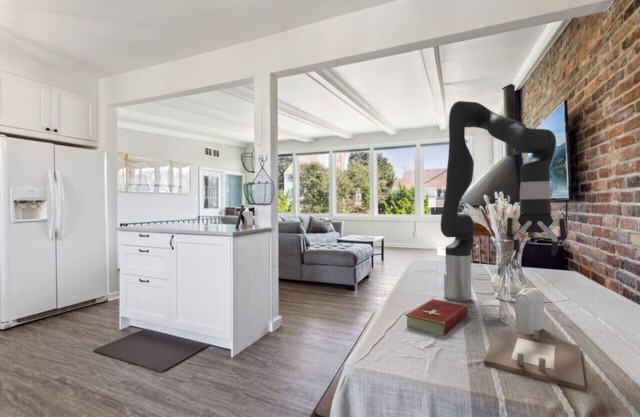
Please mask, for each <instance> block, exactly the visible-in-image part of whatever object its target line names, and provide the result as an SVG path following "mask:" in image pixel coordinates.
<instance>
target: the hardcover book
mask: <svg viewBox="0 0 640 417" xmlns="http://www.w3.org/2000/svg"><path fill="white" fill-rule="evenodd" d="M404 315H405V317H406V326H407V325H408V326H407V327H410V326H411V327H410V328H414V327H415V328H414V329H418V328H419V329H418V330H421V329H422V330H423V331H425V330H426V331H425V332H430V333H433V334H437V335H442V336H443V337H445V336H446V335H447V334H448V333H449V332H450V331H451V330H453V329H454V328H456V326H457V325H459V324H460V323H461V322H462V321H464V319H466V318H467V316H468V315H469V308H468V305H467V304H462V303H458V302H457V303H456V302H451V301H447V300H441V299H437V298H431V299H429V300H428V301H426V302H424V303H423V304H421V305H419V306H417V307H416V308H414V309H413V310H411V311H409V312H407V313H406V314H404Z"/></svg>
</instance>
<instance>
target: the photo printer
mask: <svg viewBox="0 0 640 417" xmlns="http://www.w3.org/2000/svg"><path fill="white" fill-rule="evenodd" d="M544 300H545V299H544V294H543V292H542V290H540V289H538V288H534V287H526V288H523V289H522V290H521V291H519V292H518V293H517V294H516V296H515V331H516V333H519V334H524V335H529V336H533V330H539V332H540V331H542V330H543V329H544V326H545V314H544V313H545V308H544V307H545V302H544Z"/></svg>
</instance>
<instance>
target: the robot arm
mask: <svg viewBox="0 0 640 417" xmlns="http://www.w3.org/2000/svg"><path fill="white" fill-rule="evenodd" d="M448 116H449V117H448V134H449V135H448V136H449V137H448V143H449V144H448V156H447V166H446V178H445V179H446V183H445V192H444V200H443V207H442V212H441V216H440V231H441V234H442V235H443V236H445V238H454V240H453V241H452V243H450V244H449V245H447V246H445V250H444V252H445V273H444V274H443V282H444V283H443V284H444V285H443V287H444V288H443V289H444V291H443V295H444V296H443V298H446V299H448V300H452V301H455V302H456V301H457V302H458V301H459V302H468V301H471V300H472V250H473V247H474V234H475V233H474V232H475V231H474V230H475V228H474V221H473V218H472V217H471V215H469V214H468V213H463V212H462V213H459V206H460V202H461V200H462V198H463V197H464V195H465V193H466V192H467V191H468V189H469V187H470V186H471V184H472V182H473V178H474V168H475V167H474V166H475V165H474V159H473V155H472V154H471V152H470V150H469V148H468V146H467V143H466V136H465V131H466V128H478V129H484V130H486V131H487V133H488V134H489V135H490V136H491V137H493V138H495V139H497V140H499V141H500V142H501V141H502V142H503V143H506V144H507V145H508V146H509V147H510V148H512V149H513V150H514V151H517V152H519V153H523V154H531V157H530V161H527V162H524V163H522V165H521V166H520V187H519V217H511V216H510V217H508V218H507V219H506V220H507V222H506V223H507V224H506V237H507V238H510V239H512V240H513V250H514V251H515V252H516V253H520V252H521V239H520V238H521V237H522V235H523V234H525V233H526V232H527V233H529V234H530V233H537V234H542V233H545V234H546V235H547V236H548V237H549V238H550V239H551V256H556V254H557V253H558V251H559V242H560V241H565V240H566V239H567V232H566V231H567V230H566V220H565V218H564V217H560V218H553V217H552V188H551V182H550V180H551V178H550V177H551V175H550V174H551V173H550V169H551V168H550V167H551V164H552V161H553V159H554V155H555V152H556V147H557V139H556V136H555V134H554V132H553V131H552V130H549V129H546V128H532V127H526V125H525V124H524V123H522V122H520V121H519V120H516V119H512V118H510V117H507V116H503V115H500V114H498V113H496V112H494V111H492V110H490V108H488V107H486V106H485V105H483V104H482V103H480V102H475V101H465V100H457V101H455V102H454V103H453V104H452V105H451V107H450V111H449V114H448ZM517 222H518V224H519V225H520V226H521V227H520V229H519V230H518V232H516V233H513V230H514V229H513V228H514V226H515V225H516V224H517ZM553 223H555V225H556V226H557V227H559V234H560V235H556V234H555V233H554V232H553V230H552V229H551V228H550V227H551V225H552V224H553Z"/></svg>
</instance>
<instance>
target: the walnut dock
mask: <svg viewBox="0 0 640 417" xmlns="http://www.w3.org/2000/svg"><path fill="white" fill-rule="evenodd" d="M483 365H485V366H489V367H493V368H497V369H500V370H505V371H508V372H511V373H516V374H519V375H523V376H526V377H530V378H535V379H539V380H541V381H547V382H550V383H553V384H557V385H561V386H565V387H569V388H572V389H575V388H576V390H579V389H580V390H581V391H583V390H584V391H586V383H585V376H584V369H583V359H582V353H581V345H579V344H573V343H569V342H563V341H558V340H554V339H549V338H548V339H547V338H544V337H540V331H539V330H533V334H532V335H524V334H520V333H518V332H513V331H508V330H503V329H498V330H497V332H496V334H495V336H494V338H493V341H492V342H491V344H490V347H489V349H488V351H487V352H486V355H485V357H484V359H483Z"/></svg>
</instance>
